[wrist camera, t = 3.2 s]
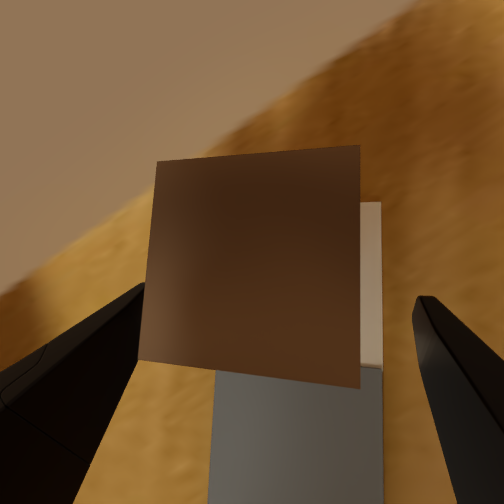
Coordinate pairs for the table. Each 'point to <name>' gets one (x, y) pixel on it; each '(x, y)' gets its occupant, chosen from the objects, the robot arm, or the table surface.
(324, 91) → the table surface
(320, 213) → the walnut pillar
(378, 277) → the tile
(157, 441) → the table surface
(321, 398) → the mat
